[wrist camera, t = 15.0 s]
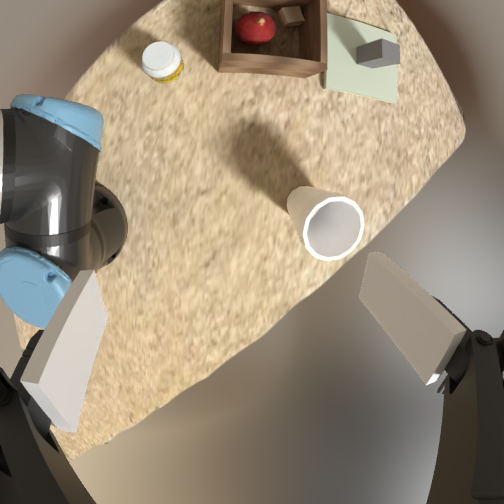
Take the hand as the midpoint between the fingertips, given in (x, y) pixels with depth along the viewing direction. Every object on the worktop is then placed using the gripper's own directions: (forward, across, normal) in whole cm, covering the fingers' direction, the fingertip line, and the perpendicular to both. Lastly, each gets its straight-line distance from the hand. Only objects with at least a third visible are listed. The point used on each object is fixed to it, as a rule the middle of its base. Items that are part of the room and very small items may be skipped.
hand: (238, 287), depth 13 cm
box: (+35, +8, +23) cm, 42 cm away
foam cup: (+35, +16, -6) cm, 39 cm away
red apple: (+35, +6, +23) cm, 42 cm away
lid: (+35, +26, +22) cm, 49 cm away
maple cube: (+35, +12, +27) cm, 46 cm away
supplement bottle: (+35, -7, +17) cm, 39 cm away
